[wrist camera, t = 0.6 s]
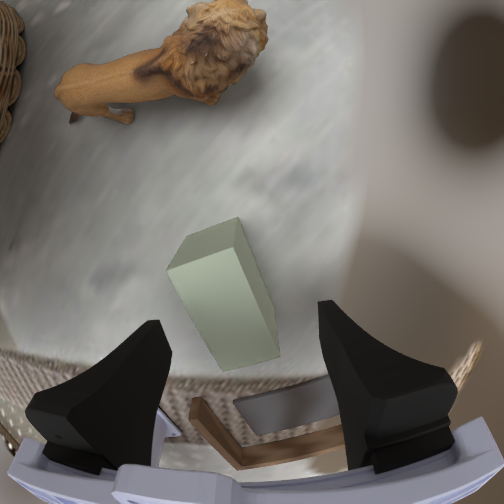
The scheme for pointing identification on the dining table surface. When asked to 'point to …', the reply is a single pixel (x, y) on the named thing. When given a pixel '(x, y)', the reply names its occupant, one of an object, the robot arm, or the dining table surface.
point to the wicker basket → (9, 63)
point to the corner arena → (275, 424)
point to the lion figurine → (172, 63)
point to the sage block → (226, 295)
